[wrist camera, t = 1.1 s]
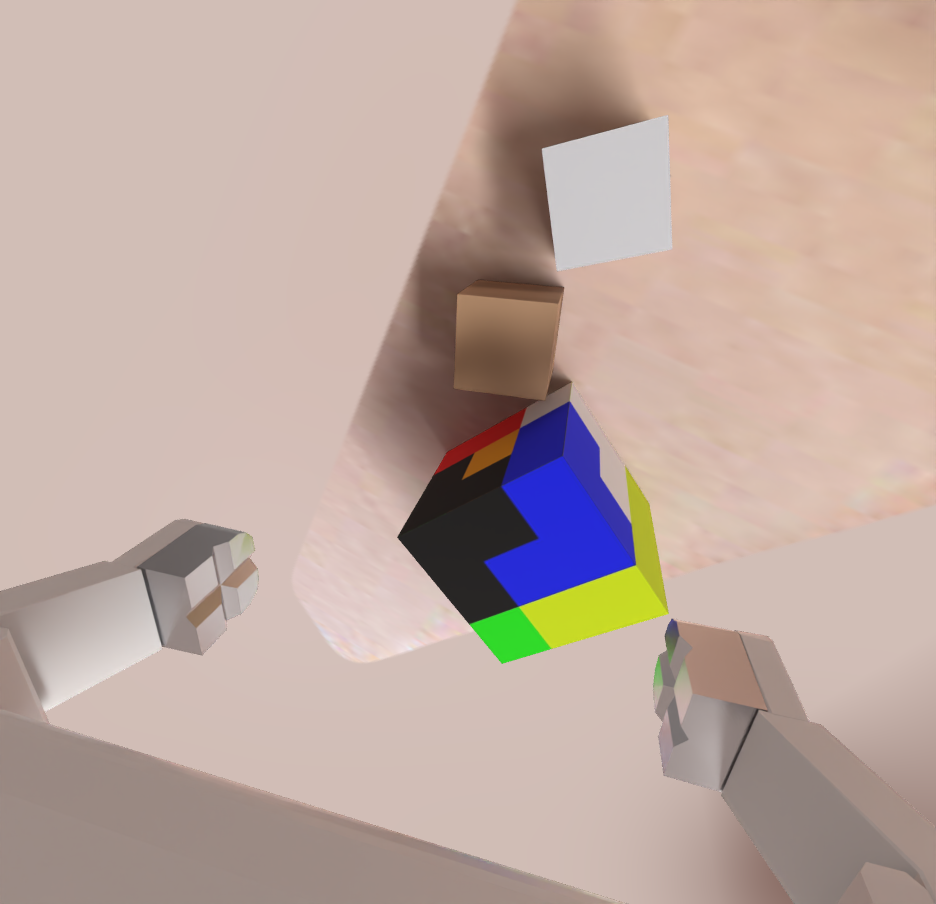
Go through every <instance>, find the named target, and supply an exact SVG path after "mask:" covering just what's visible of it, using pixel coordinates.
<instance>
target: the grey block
mask: <svg viewBox="0 0 936 904" xmlns="http://www.w3.org/2000/svg"><path fill="white" fill-rule="evenodd" d="M542 155H543V163H544V172H545V180H546V188H547V196H548V204H549V212H550V220H551V228H552V236H553V244H554V252H555V260H556V269H557V271H562V270H567V269H572V268H577V267H583V266H588V265H593V264H598V263H604V262H609V261H614V260H619V259H625V258H630V257H635V256H640V255H645V254H651V253H656V252H661V251H666V250H672V226H671V193H670V159H669V125H668V115H666V116H662V117H658V118H654V119H651V120H647V121H643V122H640V123H636V124H632V125H628V126H625V127H621V128H617V129H613V130H610V131H606V132H602V133H598V134H595V135H591V136H587V137H583V138H580V139H576V140H572V141H568V142H565V143H561V144H557V145H554V146H550V147H546V148H542Z"/></svg>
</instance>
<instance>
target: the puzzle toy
mask: <svg viewBox="0 0 936 904" xmlns="http://www.w3.org/2000/svg"><path fill="white" fill-rule="evenodd" d="M397 538H398V539H399V540H400V541H401V542H402V544H403V545H404V546H405V547H406V548H407V550H408V551H409V552H410V553H411V554H412V556H413V557H414V558H415V559H416V561H417V562H418V563H419V564H420V565H421V567H422V568H423V569H424V570H425V571H426V573H427V574H428V575H429V576H430V577H431V579H432V580H433V581H434V582H435V583H436V585H437V586H438V587H439V588H440V590H441V591H442V592H443V593H444V594H445V596H446V597H447V598H448V599H449V600H450V602H451V603H452V604H453V605H454V606H455V608H456V609H457V610H458V611H459V612H460V614H461V615H462V616H463V617H464V619H465V620H466V621H467V622H468V623H469V625H470V626H471V627H472V628H473V629H474V631H475V632H476V633H477V634H478V635H479V637H480V638H481V639H482V640H483V641H484V643H485V644H486V645H487V646H488V647H489V649H490V650H491V651H492V652H493V654H494V655H495V656H496V657H497V658H498V659H499V661H500V662H501V663H502V664H503V663H506V662H509V661H513V660H516V659H519V658H523V657H526V656H530V655H533V654H536V653H540V652H543V651H546V650H549V649H553V648H556V647H560V646H563V645H566V644H569V643H573V642H576V641H580V640H583V639H586V638H589V637H593V636H596V635H599V634H603V633H606V632H610V631H613V630H616V629H620V628H623V627H626V626H630V625H633V624H637V623H640V622H643V621H647V620H650V619H653V618H656V617H660V616H663V615H666V614H669V613H668V607H667V602H666V596H665V590H664V585H663V579H662V573H661V568H660V562H659V556H658V551H657V545H656V539H655V534H654V528H653V522H652V517H651V511H650V505H649V503H648V501H647V500H646V498H645V497H644V495H643V493H642V492H641V490H640V489H639V487H638V485H637V484H636V482H635V481H634V479H633V477H632V476H631V474H630V473H629V471H628V470H627V468H626V466H625V465H624V463H623V462H622V460H621V458H620V457H619V455H618V454H617V452H616V451H615V449H614V447H613V446H612V444H611V443H610V441H609V439H608V438H607V436H606V435H605V433H604V431H603V430H602V428H601V427H600V425H599V424H598V422H597V420H596V419H595V417H594V416H593V414H592V412H591V411H590V409H589V408H588V406H587V405H586V403H585V401H584V400H583V398H582V397H581V395H580V393H579V392H578V390H577V389H576V387H575V385H574V384H573V382H571V383H569V384H567V385H566V386H564V387H562V388H560V389H559V390H557V391H555V392H553V393H551V394H550V395H548V396H546V400H545V401H543V400H539V401H537V402H535V403H534V404H532V405H530V406H528V407H527V408H525V409H523V410H521V411H519V412H518V413H516V414H514V415H512V416H511V417H509V418H507V419H505V420H503V421H502V422H500V423H498V424H496V425H495V426H493V427H491V428H489V429H488V430H486V431H484V432H482V433H480V434H479V435H477V436H475V437H473V438H472V439H470V440H468V441H466V442H464V443H463V444H461V445H459V446H457V447H456V448H454V449H452V450H450V451H448V452H447V453H446V455H445V457H444V458H443V460H442V462H441V463H440V465H439V467H438V468H437V470H436V472H435V474H434V475H433V477H432V479H431V480H430V482H429V484H428V486H427V487H426V489H425V491H424V492H423V494H422V496H421V498H420V499H419V501H418V503H417V504H416V506H415V508H414V510H413V511H412V513H411V515H410V516H409V518H408V520H407V522H406V523H405V525H404V527H403V528H402V530H401V532H400V534H399V535H398V537H397Z"/></svg>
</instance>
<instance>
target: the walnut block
mask: <svg viewBox="0 0 936 904" xmlns="http://www.w3.org/2000/svg"><path fill="white" fill-rule="evenodd" d="M563 292H564V287H553V286H542V285H531V284H519V283H508V282H497V281H486V280H477V281H476V282H474V283H473V284H471V285H470V286H468V287H467V288H465V289H464V290H463V291H461V292H460V293H458V294H457V314H456V340H455V366H454V389H460V390H467V391H475V392H482V393H490V394H497V395H505V396H513V397H520V398H528V399H535V400H543V401H545V400H546V396H547V392H548V388H549V384H550V380H551V376H552V372H553V365H554V357H555V350H556V343H557V336H558V328H559V321H560V314H561V307H562V300H563Z"/></svg>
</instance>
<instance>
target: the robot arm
mask: <svg viewBox="0 0 936 904" xmlns="http://www.w3.org/2000/svg"><path fill="white" fill-rule="evenodd" d="M254 551H255V548H254V543H253V538H252V536H250V535H249V534H247V533H246V532H242V531H237V530H233V529H228V528H224V527H220V526H215V525H211V524H206V523H201V522H196V521H192V520H187V519H180V520H175V521H173V522H172V523H170V524H168V525H167V526H166V527H164V528H162V529H161V530H159V531H158V532H156V533H155V534H153V535H152V536H150V537H149V538H147V539H146V540H144V541H143V542H141V543H140V544H138V545H137V546H135V547H134V548H132V549H130V550H129V551H128V552H126V553H124V554H123V555H121V556H120V557H118V558H117V559H115V560H114V561H113V562H107V561H102V562H99V563H96V564H92V565H89V566H85V567H82V568H78V569H75V570H72V571H68V572H64V573H61V574H57V575H54V576H51V577H47V578H44V579H40V580H37V581H34V582H30V583H27V584H23V585H20V586H16V587H13V588H9V589H6V590H3V591H0V904H627V903H623V902H620V901H617V900H614V899H611V898H607V897H604V896H601V895H598V894H594V893H591V892H588V891H585V890H581V889H578V888H575V887H572V886H568V885H566V884H562V883H559V882H556V881H553V880H549V879H546V878H543V877H540V876H536V875H533V874H530V873H527V872H523V871H520V870H517V869H514V868H511V867H507V866H504V865H501V864H498V863H495V862H491V861H488V860H485V859H482V858H479V857H475V856H472V855H469V854H466V853H462V852H459V851H456V850H453V849H449V848H446V847H443V846H440V845H437V844H434V843H430V842H427V841H424V840H420V839H417V838H414V837H411V836H408V835H404V834H401V833H398V832H395V831H392V830H388V829H385V828H382V827H379V826H376V825H372V824H369V823H366V822H363V821H359V820H356V819H353V818H350V817H346V816H343V815H340V814H337V813H334V812H330V811H327V810H324V809H321V808H317V807H314V806H311V805H308V804H305V803H301V802H298V801H295V800H292V799H289V798H285V797H282V796H279V795H276V794H273V793H269V792H266V791H263V790H260V789H256V788H253V787H250V786H247V785H244V784H240V783H237V782H234V781H230V780H227V779H224V778H221V777H217V776H215V775H212V774H208V773H205V772H202V771H199V770H195V769H192V768H189V767H185V766H183V765H179V764H176V763H173V762H170V761H167V760H163V759H160V758H157V757H154V756H150V755H147V754H144V753H141V752H138V751H134V750H131V749H128V748H125V747H121V746H118V745H115V744H112V743H109V742H105V741H102V740H99V739H96V738H93V737H90V736H86V735H83V734H80V733H76V732H73V731H70V730H67V729H64V728H61V727H57V726H54V725H51V724H50V723H49V721H48V719H47V716H46V714H45V712H46V711H48V710H49V709H51V708H53V707H55V706H57V705H59V704H61V703H62V702H64V701H66V700H68V699H70V698H72V697H74V696H76V695H77V694H79V693H81V692H83V691H85V690H86V689H89V688H90V687H92V686H94V685H96V684H98V683H100V682H102V681H103V680H105V679H107V678H109V677H111V676H113V675H115V674H116V673H118V672H120V671H122V670H124V669H126V668H128V667H130V666H132V665H133V664H135V663H137V662H139V661H141V660H143V659H144V658H146V657H148V656H150V655H152V654H154V653H156V652H158V651H159V650H161V649H162V647H167V648H171V649H176V650H180V651H184V652H189V653H194V654H198V655H203V654H204V653H205V652H206V651H207V650H208V649H209V648H210V647H211V646H212V644H214V643H215V642H216V640H217V639H218V638H219V637H220V636H221V635H222V634H223V633H224V632H225V631H226V629H227V620H229V619H231V618H233V617H236V616H238V615H240V614H242V613H243V612H244V611H245V610H246V609H247V607H248V606H249V605H250V604H251V602H252V600H253V598H254V596H255V594H256V592H257V589H258V581H259V576H258V568H257V567H256V566H255V564H254V563H253V562H252V560H251V559H250V557H251V555H252V554H253V553H254ZM665 641H666V647H667V651H665V652H663V653H662V654H660V655H659V657H658V661H657V664H656V668H655V675H654V683H653V696H654V697H653V698H654V707H655V713H656V714H657V715H658V716H659V718H660V719H661V720H662V722H663V723H662V726H661V729H660V732H659V736H658V738H659V745H660V753H661V760H662V767H663V773H664V776H667V777H670V778H674V779H677V780H681V781H684V782H688V783H691V784H695V785H698V786H701V787H705V788H709V789H712V790H716V791H719V792H722V794H721V796H722V797H723V799H724V800H725V802H726V803H727V805H728V806H729V807H730V809H731V811H732V812H733V814H734V815H735V817H736V818H737V819H738V821H739V823H740V824H741V826H742V827H743V828H744V830H745V832H746V833H747V834H748V836H749V837H750V839H751V840H752V842H753V843H754V845H755V846H756V848H757V849H758V851H759V852H760V854H761V855H762V857H763V858H764V860H765V861H766V863H767V864H768V866H769V867H770V869H771V870H772V872H773V873H774V875H775V876H776V877H777V879H778V880H779V882H780V884H781V885H782V887H783V888H784V890H785V891H786V893H787V894H788V895H789V897H790V898H791V900H792V901H793V903H794V904H936V827H935V826H934V825H933V824H932V823H930V821H928V820H927V819H926V818H925V817H924V816H923V815H922V814H921V813H919V812H918V811H917V810H916V809H915V808H914V807H913V806H912V805H910V804H909V803H908V802H907V801H906V800H905V799H904V798H903V797H902V796H900V795H899V794H898V793H897V792H896V791H895V790H894V789H893V788H892V787H890V786H889V785H888V784H887V783H886V782H885V781H884V780H883V779H881V778H880V777H879V776H878V775H877V774H876V773H875V772H874V771H873V770H871V769H870V768H869V767H868V766H867V765H866V764H865V763H864V762H862V761H861V760H860V759H859V758H858V757H857V756H856V755H855V754H854V753H852V752H851V751H850V750H849V749H848V748H847V747H846V746H845V745H843V744H842V743H841V742H840V741H839V740H838V739H837V738H836V737H835V736H833V735H832V734H831V733H830V732H829V731H828V730H827V729H826V728H824V727H823V726H822V725H821V724H817V723H813V722H810V720H809V718H808V716H807V714H806V712H805V709H804V707H803V705H802V703H801V701H800V699H799V697H798V694H797V692H796V690H795V688H794V686H793V684H792V681H791V679H790V677H789V675H788V673H787V670H786V668H785V666H784V664H783V662H782V660H781V658H780V655H779V653H778V651H777V649H776V647H775V645H774V642H773V641H772V640H771V639H770V638H769V637H768V636H764V635H759V634H753V633H748V632H742V631H736V630H735V631H732V630H727V629H722V628H717V627H712V626H706V625H702V624H696V623H691V622H686V621H681V620H676V619H671V621H670V623H669V624H668V627H667V630H666V633H665Z"/></svg>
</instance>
